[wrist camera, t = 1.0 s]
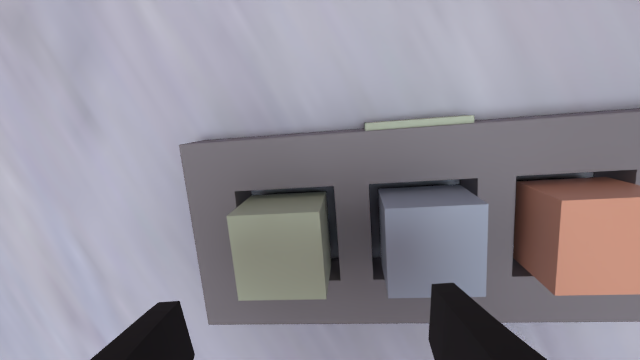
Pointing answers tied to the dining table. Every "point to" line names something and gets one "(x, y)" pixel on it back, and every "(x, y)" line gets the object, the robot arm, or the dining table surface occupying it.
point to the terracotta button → (579, 235)
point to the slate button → (432, 240)
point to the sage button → (281, 247)
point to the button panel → (405, 166)
